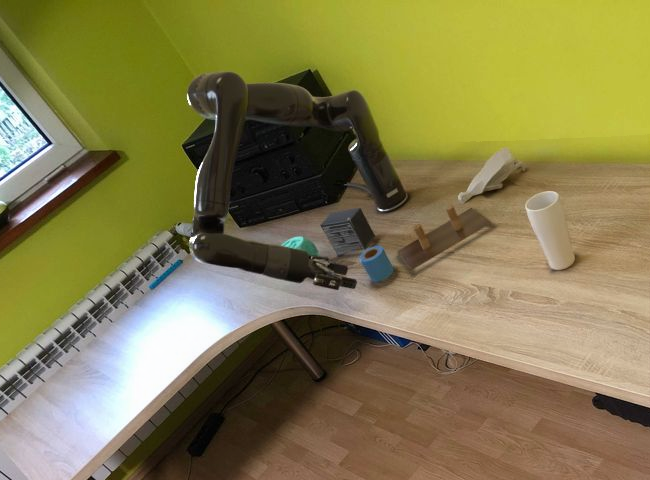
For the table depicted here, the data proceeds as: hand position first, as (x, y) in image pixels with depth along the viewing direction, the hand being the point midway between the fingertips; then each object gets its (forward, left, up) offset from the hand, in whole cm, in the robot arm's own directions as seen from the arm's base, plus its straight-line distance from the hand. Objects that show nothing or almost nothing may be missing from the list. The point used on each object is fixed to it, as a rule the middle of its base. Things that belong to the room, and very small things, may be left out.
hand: (351, 277), depth 151 cm
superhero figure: (-12, +44, -5) cm, 46 cm away
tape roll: (0, +7, -5) cm, 8 cm away
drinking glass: (+33, +38, -5) cm, 50 cm away
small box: (-22, +6, -5) cm, 24 cm away
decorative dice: (-28, -9, -5) cm, 30 cm away
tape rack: (0, +24, -5) cm, 24 cm away
